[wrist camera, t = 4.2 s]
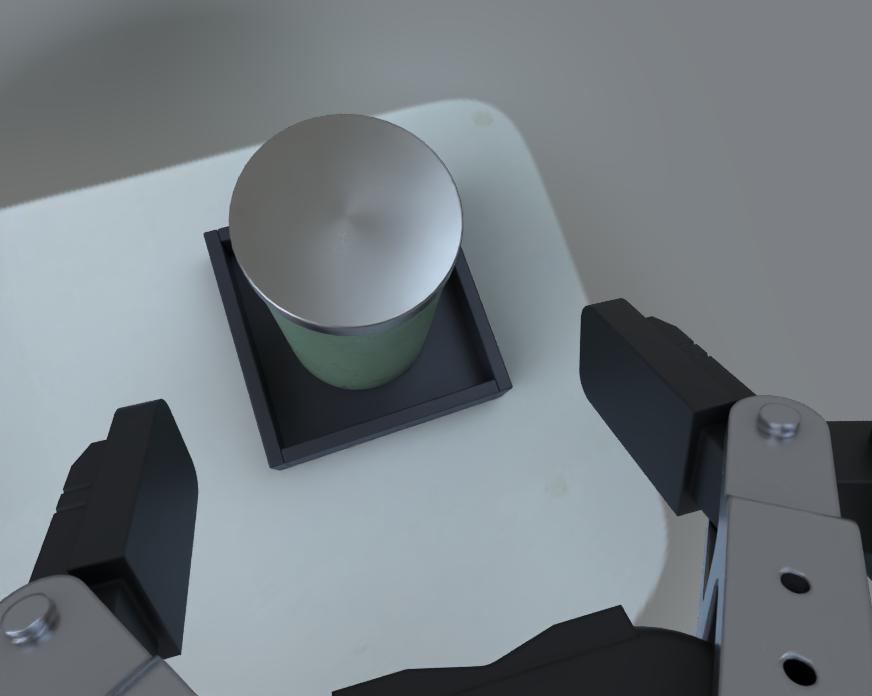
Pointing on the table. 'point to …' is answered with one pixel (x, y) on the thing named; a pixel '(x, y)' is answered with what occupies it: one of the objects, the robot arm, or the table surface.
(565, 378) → the table surface
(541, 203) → the table surface
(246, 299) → the tray
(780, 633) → the robot arm
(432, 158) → the tin
